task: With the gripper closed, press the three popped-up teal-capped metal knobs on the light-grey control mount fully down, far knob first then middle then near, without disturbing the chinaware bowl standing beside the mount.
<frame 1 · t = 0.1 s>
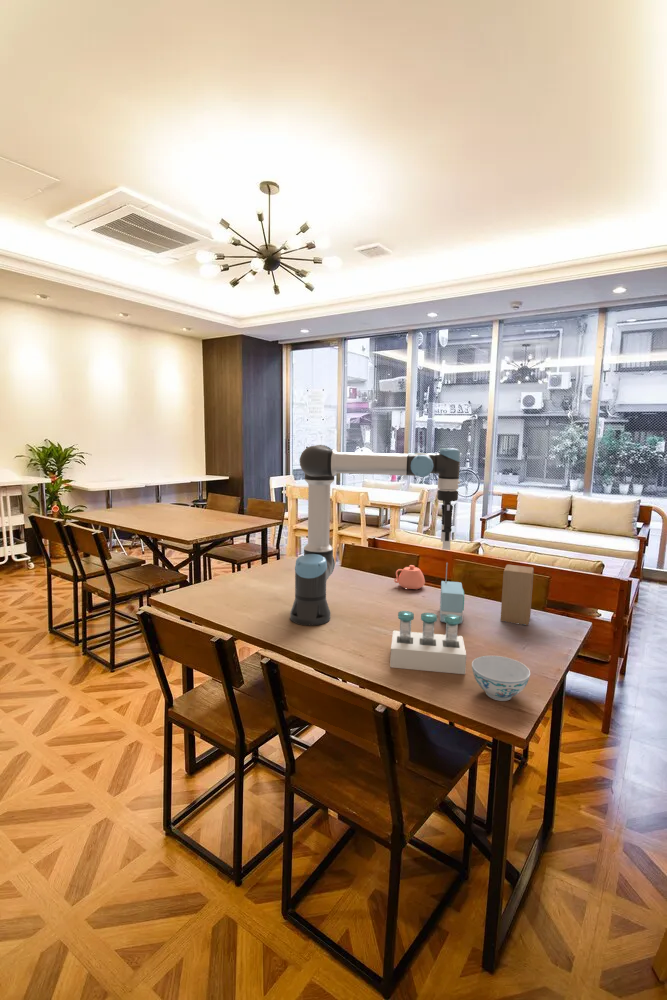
hand: (445, 545, 191), 28 cm above the table, fingers open, 13 cm apart
knob mid: (428, 630, 155), point 10 cm above the table, slide at 0.0 cm
pink teapot: (409, 587, 231), on the table
mount: (426, 660, 156), on the table
radio: (451, 617, 194), on the table
knob far: (451, 631, 154), point 10 cm above the table, slide at 0.0 cm
wooden block: (515, 619, 193), on the table
knob near: (405, 628, 156), point 10 cm above the table, slide at 0.0 cm
chinaware: (498, 695, 137), on the table
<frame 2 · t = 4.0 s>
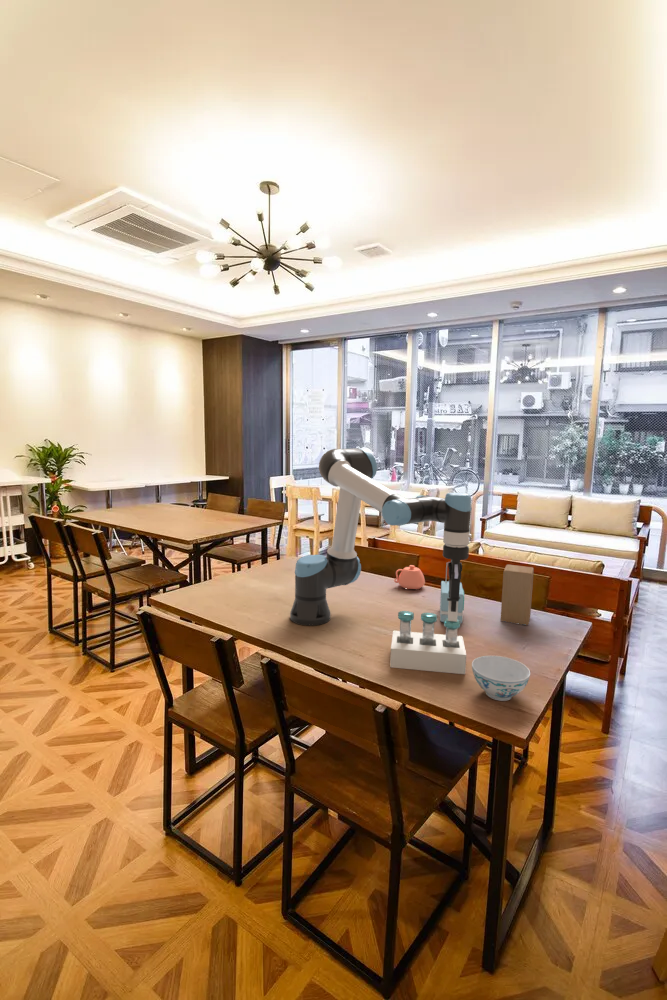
hand: (452, 620, 153), 14 cm above the table, fingers closed
knob far: (451, 635, 154), point 9 cm above the table, slide at 1.3 cm, touching gripper
everything else where it was.
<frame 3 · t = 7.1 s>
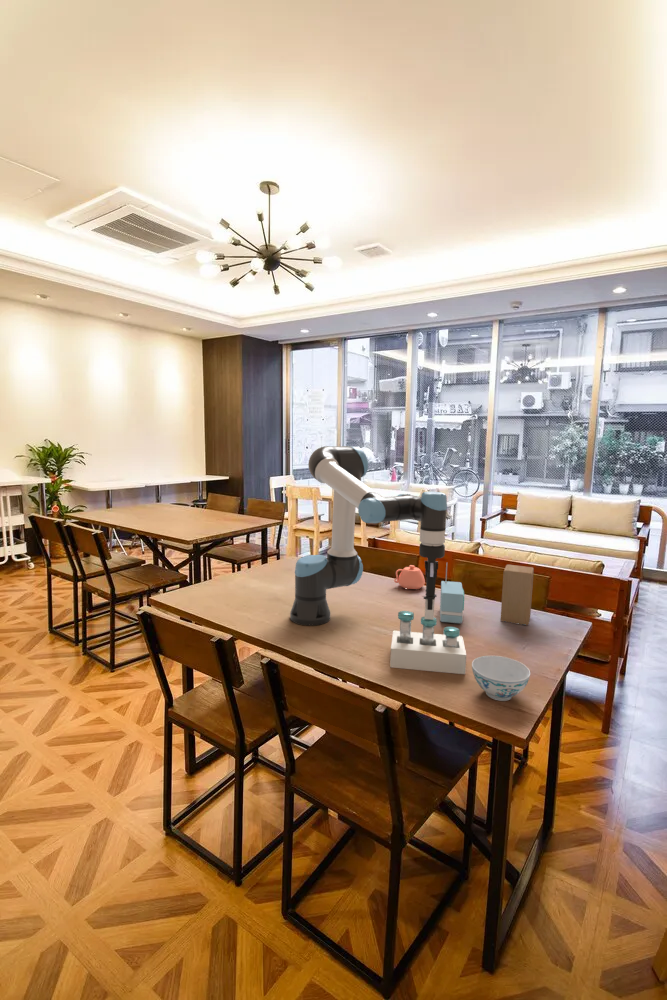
hand: (429, 618, 155), 14 cm above the table, fingers closed
knob mid: (428, 633, 155), point 9 cm above the table, slide at 1.2 cm, touching gripper
knob far: (450, 644, 155), point 6 cm above the table, slide at 4.0 cm
everything else where it was.
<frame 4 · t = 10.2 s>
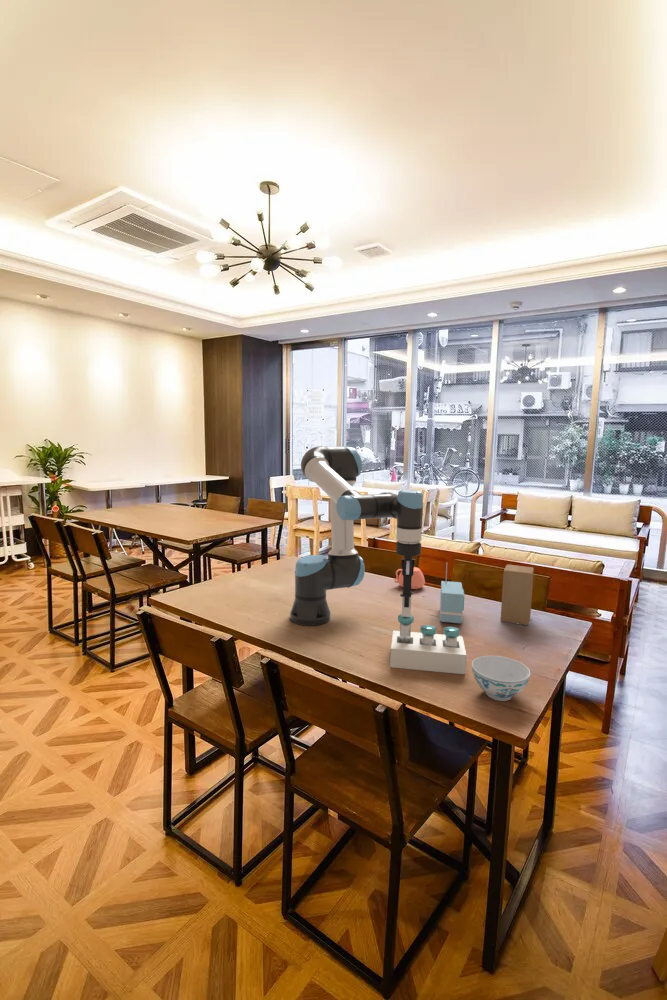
hand: (406, 615, 156), 14 cm above the table, fingers closed
knob mid: (427, 642, 156), point 6 cm above the table, slide at 4.0 cm
knob near: (405, 631, 156), point 9 cm above the table, slide at 1.0 cm, touching gripper
everything else where it was.
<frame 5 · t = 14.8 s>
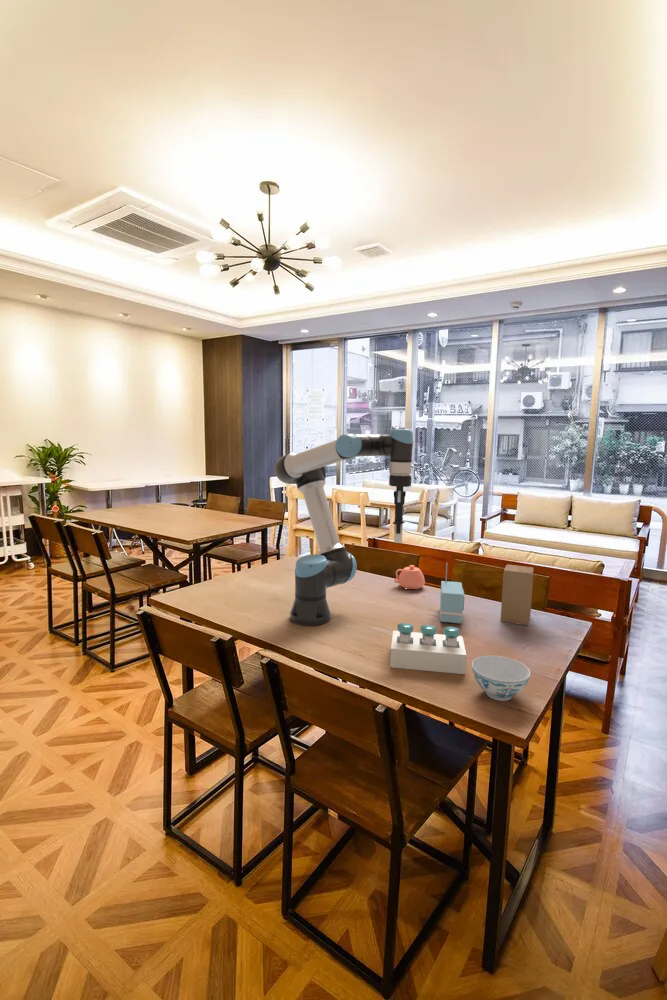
hand: (397, 542, 174), 32 cm above the table, fingers closed
knob near: (404, 640, 157), point 6 cm above the table, slide at 4.0 cm
everything else where it was.
at the end: knob far slide at 4.0 cm; knob mid slide at 4.0 cm; knob near slide at 4.0 cm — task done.
